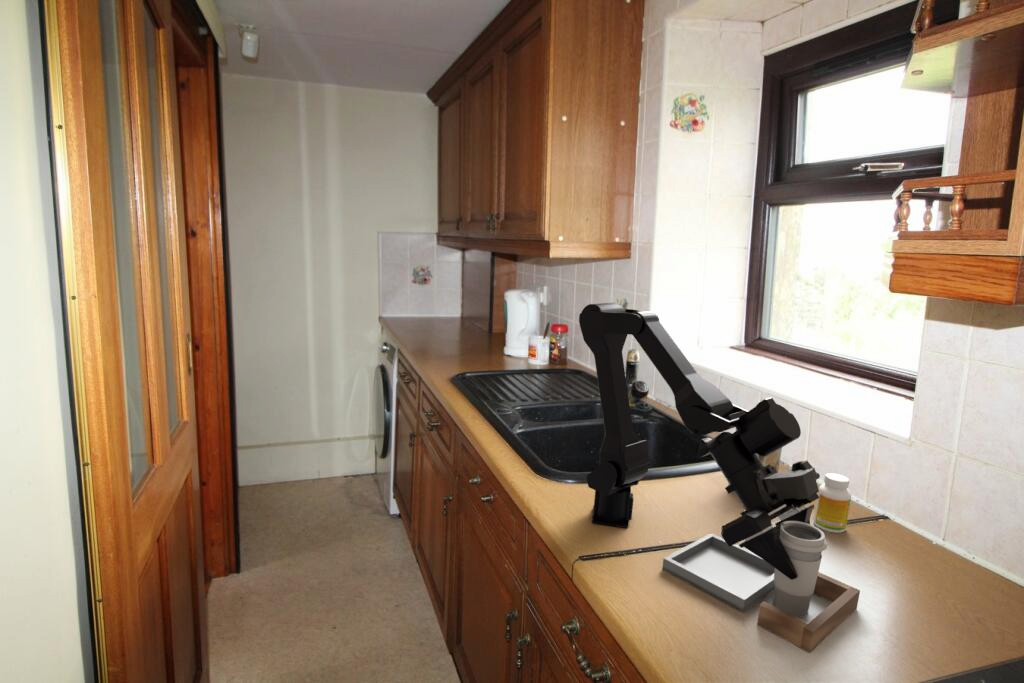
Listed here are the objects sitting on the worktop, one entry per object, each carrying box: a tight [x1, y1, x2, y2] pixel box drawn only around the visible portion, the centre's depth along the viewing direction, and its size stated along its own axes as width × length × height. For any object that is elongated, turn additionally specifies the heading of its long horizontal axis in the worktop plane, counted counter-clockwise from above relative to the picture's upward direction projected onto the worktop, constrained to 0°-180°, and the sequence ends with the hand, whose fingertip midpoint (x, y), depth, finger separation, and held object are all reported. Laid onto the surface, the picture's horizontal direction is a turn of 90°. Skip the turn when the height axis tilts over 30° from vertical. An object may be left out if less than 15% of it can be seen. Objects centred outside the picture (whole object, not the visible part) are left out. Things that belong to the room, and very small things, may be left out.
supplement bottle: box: [813, 472, 852, 534], centre depth 116 cm, size 5×5×10 cm
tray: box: [662, 533, 775, 613], centre depth 98 cm, size 14×14×2 cm
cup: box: [772, 521, 828, 618], centre depth 90 cm, size 7×7×12 cm
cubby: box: [756, 571, 861, 654], centre depth 89 cm, size 7×15×3 cm, turn 131°
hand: (806, 570), depth 89 cm, fingers closed on cup, 7 cm apart
